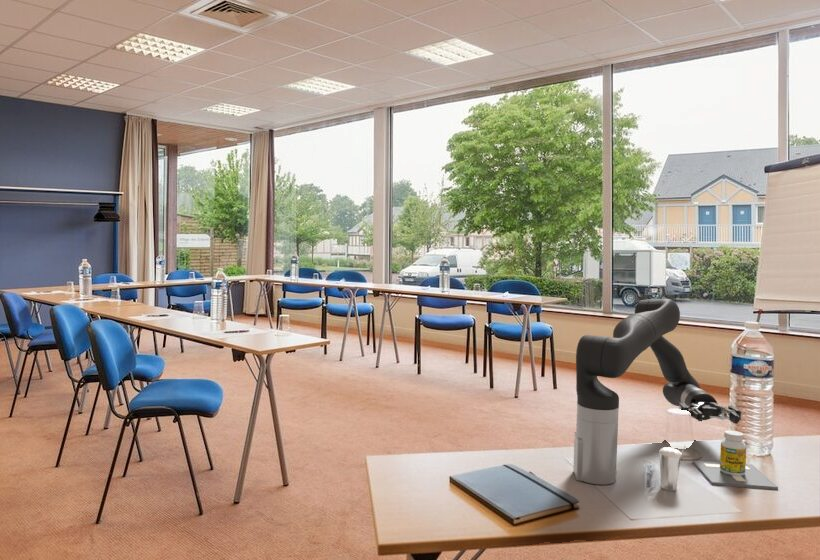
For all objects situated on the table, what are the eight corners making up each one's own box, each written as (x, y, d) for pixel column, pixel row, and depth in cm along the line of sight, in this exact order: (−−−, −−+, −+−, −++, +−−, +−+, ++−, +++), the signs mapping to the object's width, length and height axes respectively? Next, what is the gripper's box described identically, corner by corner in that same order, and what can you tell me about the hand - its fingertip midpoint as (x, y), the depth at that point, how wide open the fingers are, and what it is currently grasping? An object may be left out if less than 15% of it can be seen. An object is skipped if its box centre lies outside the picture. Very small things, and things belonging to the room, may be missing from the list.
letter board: (711, 484, 136) (712, 481, 136) (692, 462, 150) (692, 459, 150) (778, 489, 134) (778, 486, 134) (752, 466, 148) (752, 464, 148)
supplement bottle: (742, 469, 144) (744, 430, 143) (747, 477, 139) (749, 437, 138) (717, 466, 145) (719, 428, 145) (721, 474, 140) (723, 434, 140)
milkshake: (685, 493, 131) (688, 449, 130) (660, 491, 132) (662, 446, 131) (680, 485, 135) (683, 442, 135) (656, 483, 137) (657, 440, 136)
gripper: (672, 388, 169) (690, 402, 153) (726, 391, 167) (749, 406, 151) (671, 414, 169) (688, 431, 153) (724, 417, 167) (747, 435, 151)
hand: (718, 418), depth 152 cm, fingers open, 8 cm apart
